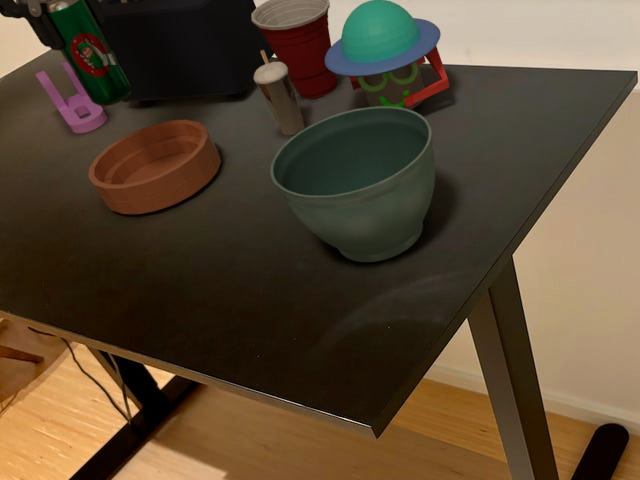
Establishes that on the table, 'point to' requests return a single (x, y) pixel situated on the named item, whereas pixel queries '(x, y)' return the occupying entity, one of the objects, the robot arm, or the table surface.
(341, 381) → the table surface
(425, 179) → the flower pot
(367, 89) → the toy robot
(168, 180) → the terracotta plant saucer
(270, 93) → the milkshake
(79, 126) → the bracket
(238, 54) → the speaker
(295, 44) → the plastic cup
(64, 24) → the soda can
